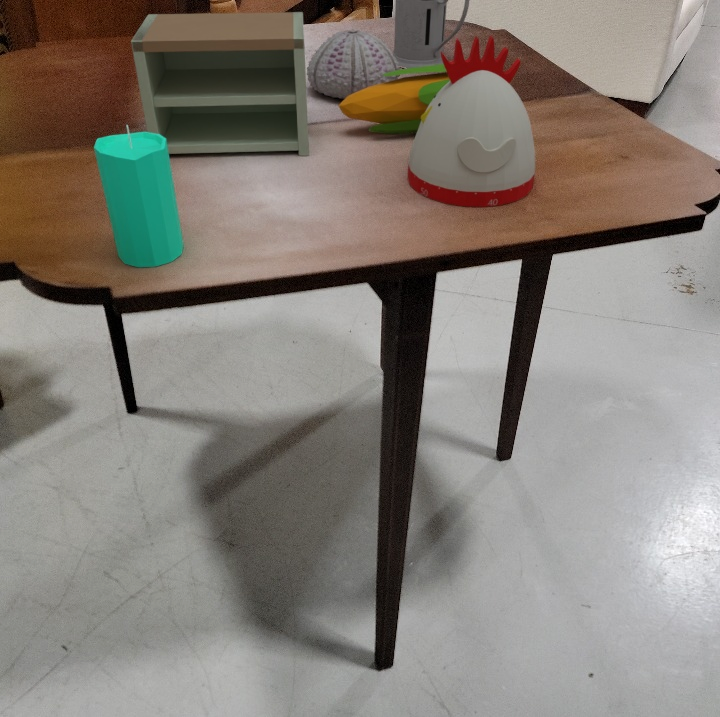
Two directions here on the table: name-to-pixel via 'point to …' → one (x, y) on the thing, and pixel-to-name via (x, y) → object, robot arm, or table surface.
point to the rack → (224, 81)
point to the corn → (396, 100)
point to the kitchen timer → (474, 135)
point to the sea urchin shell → (350, 64)
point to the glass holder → (421, 31)
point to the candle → (140, 197)
